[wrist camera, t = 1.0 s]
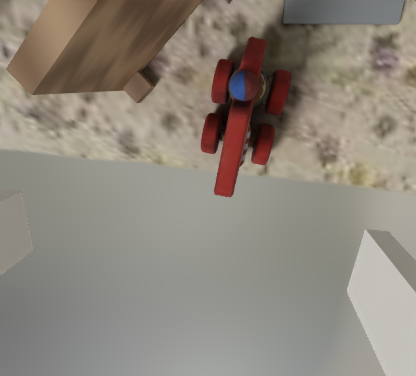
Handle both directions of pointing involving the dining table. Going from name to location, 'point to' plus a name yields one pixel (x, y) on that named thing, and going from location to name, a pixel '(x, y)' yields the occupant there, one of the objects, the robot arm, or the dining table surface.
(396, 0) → the mat
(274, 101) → the toy fire truck
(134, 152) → the dining table surface
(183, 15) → the screen
